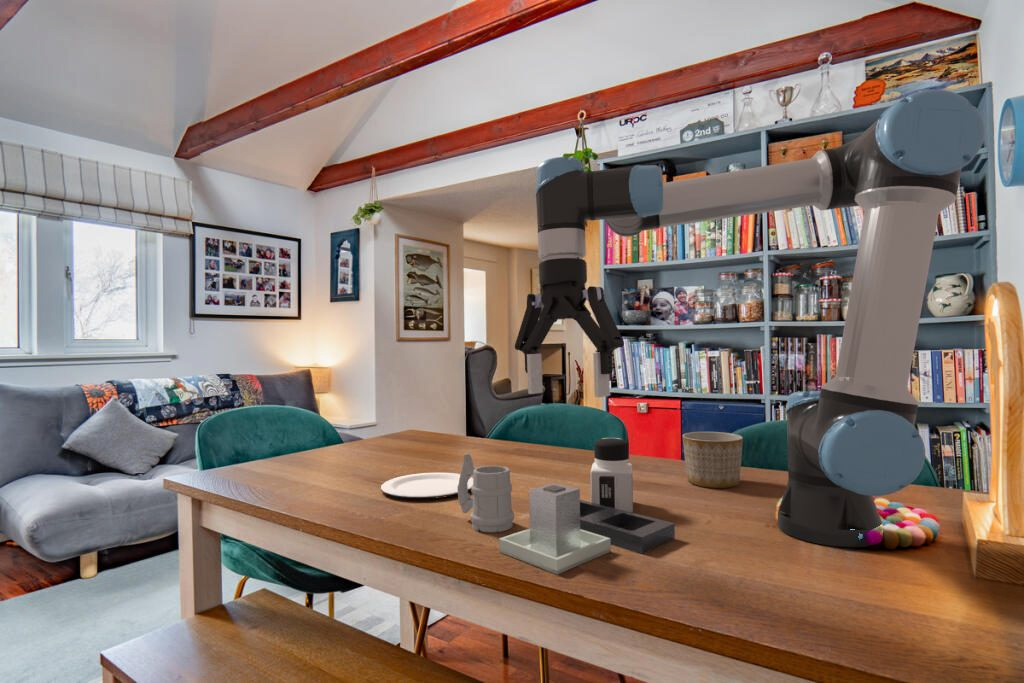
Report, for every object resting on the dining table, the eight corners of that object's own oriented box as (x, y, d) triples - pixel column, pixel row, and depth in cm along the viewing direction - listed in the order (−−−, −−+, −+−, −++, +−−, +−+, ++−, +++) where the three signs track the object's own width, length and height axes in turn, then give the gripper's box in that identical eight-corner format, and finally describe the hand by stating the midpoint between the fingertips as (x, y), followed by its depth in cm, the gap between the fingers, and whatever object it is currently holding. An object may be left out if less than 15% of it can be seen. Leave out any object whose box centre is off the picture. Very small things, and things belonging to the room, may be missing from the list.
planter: (748, 480, 127) (747, 434, 127) (737, 493, 117) (736, 442, 117) (691, 474, 134) (690, 430, 134) (676, 485, 123) (675, 438, 123)
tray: (610, 551, 85) (610, 538, 85) (557, 574, 77) (556, 559, 77) (552, 532, 94) (552, 520, 94) (499, 551, 86) (498, 538, 86)
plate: (494, 492, 121) (494, 484, 121) (404, 510, 110) (404, 501, 110) (448, 474, 139) (448, 467, 139) (366, 488, 127) (366, 480, 127)
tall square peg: (580, 548, 86) (579, 487, 86) (556, 558, 82) (555, 494, 82) (554, 539, 89) (553, 481, 89) (530, 548, 86) (529, 488, 86)
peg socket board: (674, 538, 90) (674, 523, 90) (642, 554, 84) (642, 537, 84) (563, 508, 108) (562, 495, 108) (529, 518, 102) (529, 505, 102)
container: (633, 513, 104) (631, 443, 104) (590, 511, 106) (589, 442, 106) (632, 501, 112) (631, 436, 112) (593, 500, 113) (592, 435, 113)
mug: (495, 536, 93) (494, 463, 93) (444, 523, 100) (443, 455, 100) (523, 524, 99) (522, 456, 99) (473, 512, 106) (472, 449, 106)
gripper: (644, 250, 82) (649, 395, 82) (522, 271, 100) (526, 390, 100) (614, 245, 77) (619, 400, 77) (491, 268, 95) (495, 393, 95)
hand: (567, 395), depth 89 cm, fingers open, 13 cm apart
